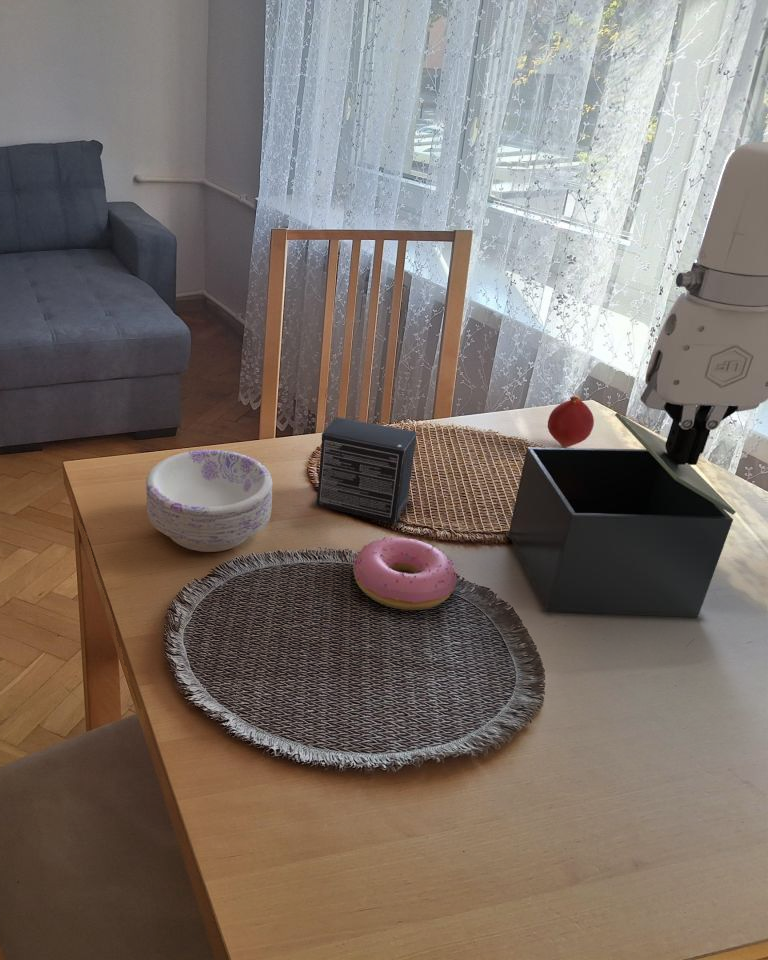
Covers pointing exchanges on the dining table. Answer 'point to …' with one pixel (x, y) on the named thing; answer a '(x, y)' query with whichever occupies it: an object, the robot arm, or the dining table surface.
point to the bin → (614, 533)
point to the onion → (571, 422)
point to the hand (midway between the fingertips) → (680, 458)
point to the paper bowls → (209, 498)
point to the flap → (674, 464)
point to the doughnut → (399, 590)
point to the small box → (365, 469)
